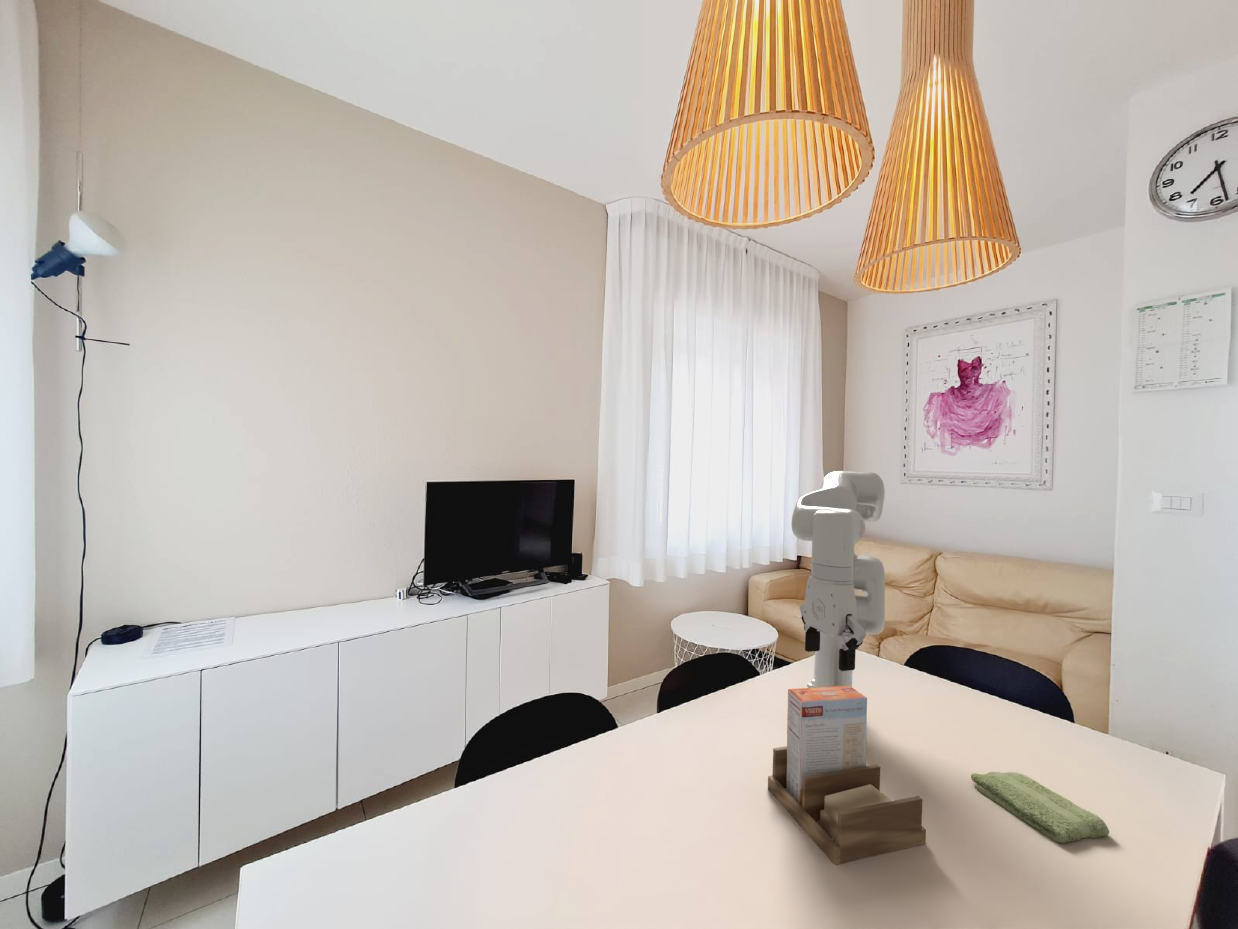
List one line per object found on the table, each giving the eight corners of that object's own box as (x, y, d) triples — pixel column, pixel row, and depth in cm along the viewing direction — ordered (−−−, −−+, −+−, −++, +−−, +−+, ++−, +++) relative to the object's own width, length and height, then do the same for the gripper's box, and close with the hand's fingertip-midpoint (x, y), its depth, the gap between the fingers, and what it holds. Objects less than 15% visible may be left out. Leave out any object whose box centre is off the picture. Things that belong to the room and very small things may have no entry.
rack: (767, 788, 97) (769, 749, 97) (845, 775, 103) (846, 737, 103) (834, 865, 79) (836, 816, 79) (925, 843, 84) (927, 798, 84)
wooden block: (818, 825, 88) (819, 793, 88) (872, 815, 91) (873, 783, 91) (844, 853, 82) (845, 818, 82) (901, 841, 85) (902, 807, 85)
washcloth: (1014, 778, 104) (1014, 763, 104) (1114, 840, 87) (1114, 822, 87) (965, 785, 102) (965, 769, 102) (1058, 850, 84) (1059, 832, 84)
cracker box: (846, 785, 99) (849, 683, 99) (866, 805, 93) (869, 697, 94) (783, 790, 97) (787, 686, 97) (799, 812, 91) (803, 701, 91)
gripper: (788, 564, 103) (785, 645, 102) (848, 583, 86) (844, 680, 86) (818, 564, 105) (815, 643, 104) (881, 582, 88) (878, 677, 88)
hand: (828, 660), depth 95 cm, fingers open, 9 cm apart
